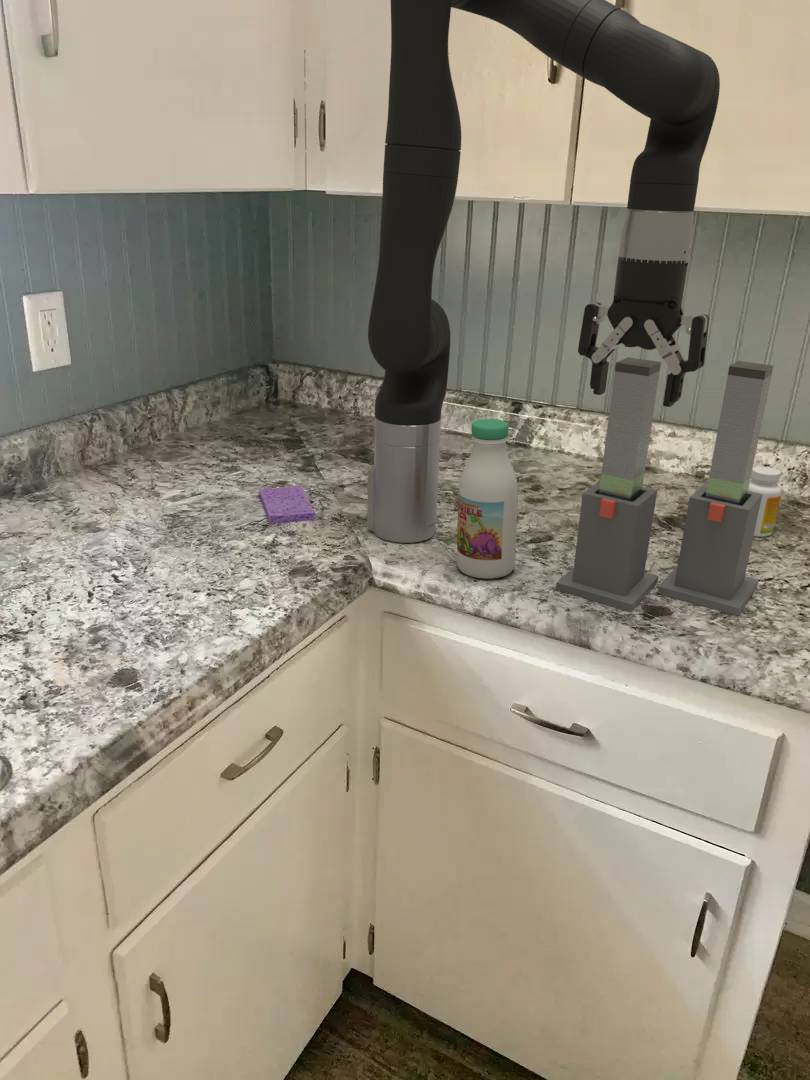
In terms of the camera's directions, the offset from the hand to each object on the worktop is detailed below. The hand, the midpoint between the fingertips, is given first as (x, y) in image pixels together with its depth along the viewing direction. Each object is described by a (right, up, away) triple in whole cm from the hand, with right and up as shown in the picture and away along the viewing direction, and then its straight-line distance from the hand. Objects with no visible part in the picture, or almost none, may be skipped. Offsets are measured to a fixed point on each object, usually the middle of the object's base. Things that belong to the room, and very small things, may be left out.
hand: (633, 399), depth 99 cm
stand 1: (-1, -23, +10) cm, 25 cm away
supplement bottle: (+26, -15, +29) cm, 42 cm away
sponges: (-46, -12, +32) cm, 57 cm away
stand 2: (+12, -23, +10) cm, 28 cm away
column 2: (+12, -16, +7) cm, 22 cm away
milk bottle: (-16, -20, +14) cm, 29 cm away
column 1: (-1, -16, +7) cm, 17 cm away
